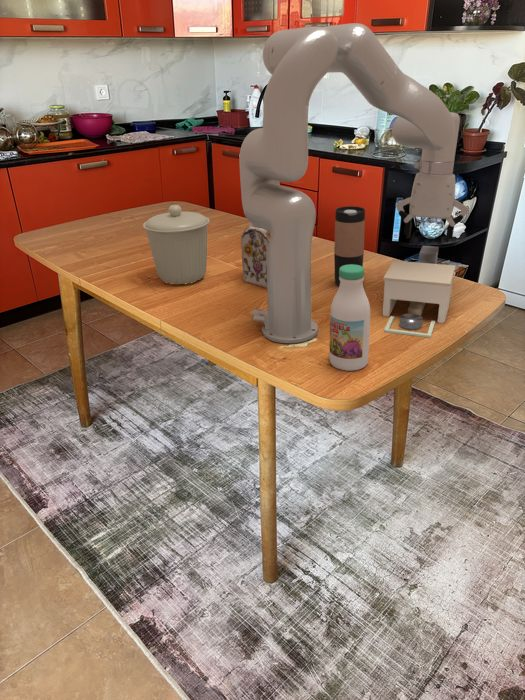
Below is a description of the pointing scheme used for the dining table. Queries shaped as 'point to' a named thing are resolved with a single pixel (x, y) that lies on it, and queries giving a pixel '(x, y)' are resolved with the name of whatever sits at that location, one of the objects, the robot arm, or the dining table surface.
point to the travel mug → (348, 238)
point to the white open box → (418, 285)
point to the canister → (178, 245)
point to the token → (411, 321)
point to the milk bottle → (350, 321)
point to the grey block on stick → (425, 256)
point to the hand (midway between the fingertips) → (427, 239)
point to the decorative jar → (255, 254)
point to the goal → (409, 331)
